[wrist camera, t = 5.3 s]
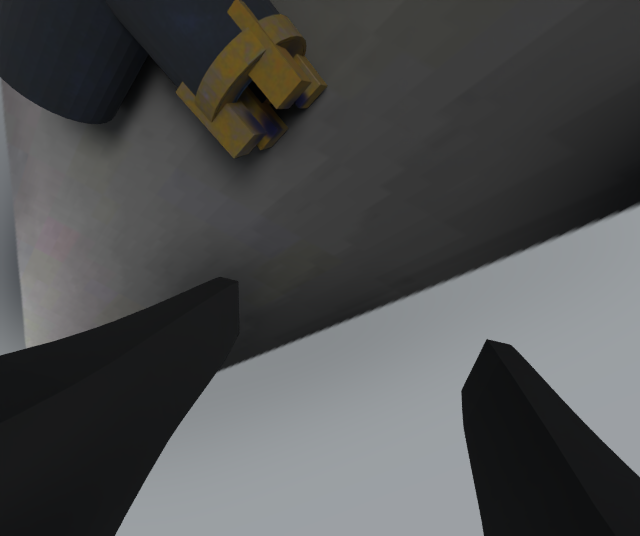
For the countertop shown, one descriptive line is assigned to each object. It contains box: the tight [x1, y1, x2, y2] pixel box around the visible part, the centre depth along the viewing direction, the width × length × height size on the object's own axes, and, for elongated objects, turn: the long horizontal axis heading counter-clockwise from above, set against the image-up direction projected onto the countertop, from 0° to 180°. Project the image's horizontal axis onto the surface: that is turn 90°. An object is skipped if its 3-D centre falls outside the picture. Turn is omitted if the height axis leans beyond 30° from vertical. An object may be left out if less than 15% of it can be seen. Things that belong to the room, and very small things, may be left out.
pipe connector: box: [0, 0, 327, 158], centre depth 13 cm, size 12×5×15 cm
